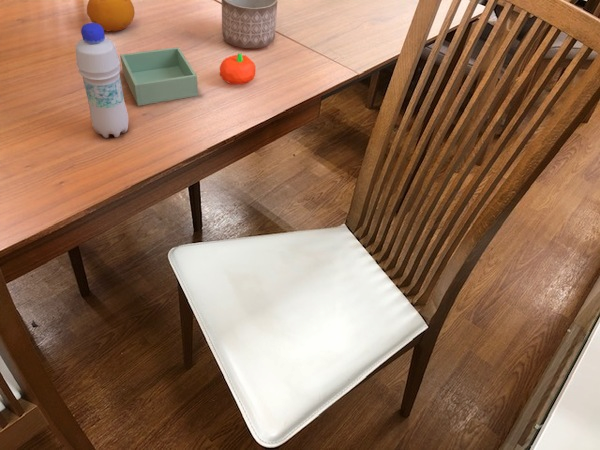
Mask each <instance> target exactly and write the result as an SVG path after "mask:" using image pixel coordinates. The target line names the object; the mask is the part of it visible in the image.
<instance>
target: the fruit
mask: <svg viewBox="0 0 600 450" xmlns="http://www.w3.org/2000/svg"><path fill="white" fill-rule="evenodd" d="M86 13H87V16H88V18H89V20H90V21H91V23H97V24H99V25H101V26H102V28H103V30H104V32H118V31H122V30H124V29H126V28H128V27H129V26H130V25H131V24H132V22H133V21H134V18H135V14H136V13H135V6H134V3H133V2H132V0H88V2H87V4H86Z"/></svg>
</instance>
